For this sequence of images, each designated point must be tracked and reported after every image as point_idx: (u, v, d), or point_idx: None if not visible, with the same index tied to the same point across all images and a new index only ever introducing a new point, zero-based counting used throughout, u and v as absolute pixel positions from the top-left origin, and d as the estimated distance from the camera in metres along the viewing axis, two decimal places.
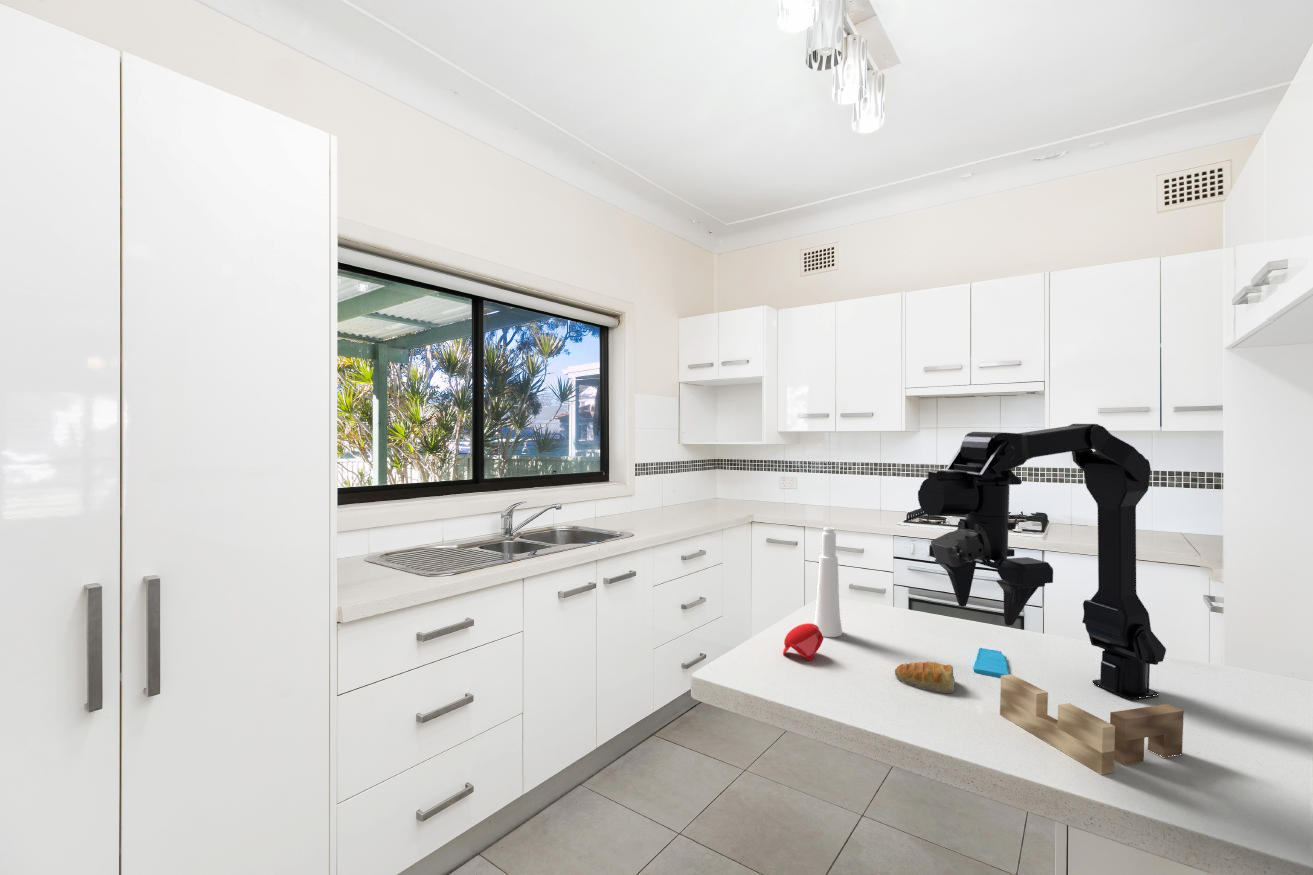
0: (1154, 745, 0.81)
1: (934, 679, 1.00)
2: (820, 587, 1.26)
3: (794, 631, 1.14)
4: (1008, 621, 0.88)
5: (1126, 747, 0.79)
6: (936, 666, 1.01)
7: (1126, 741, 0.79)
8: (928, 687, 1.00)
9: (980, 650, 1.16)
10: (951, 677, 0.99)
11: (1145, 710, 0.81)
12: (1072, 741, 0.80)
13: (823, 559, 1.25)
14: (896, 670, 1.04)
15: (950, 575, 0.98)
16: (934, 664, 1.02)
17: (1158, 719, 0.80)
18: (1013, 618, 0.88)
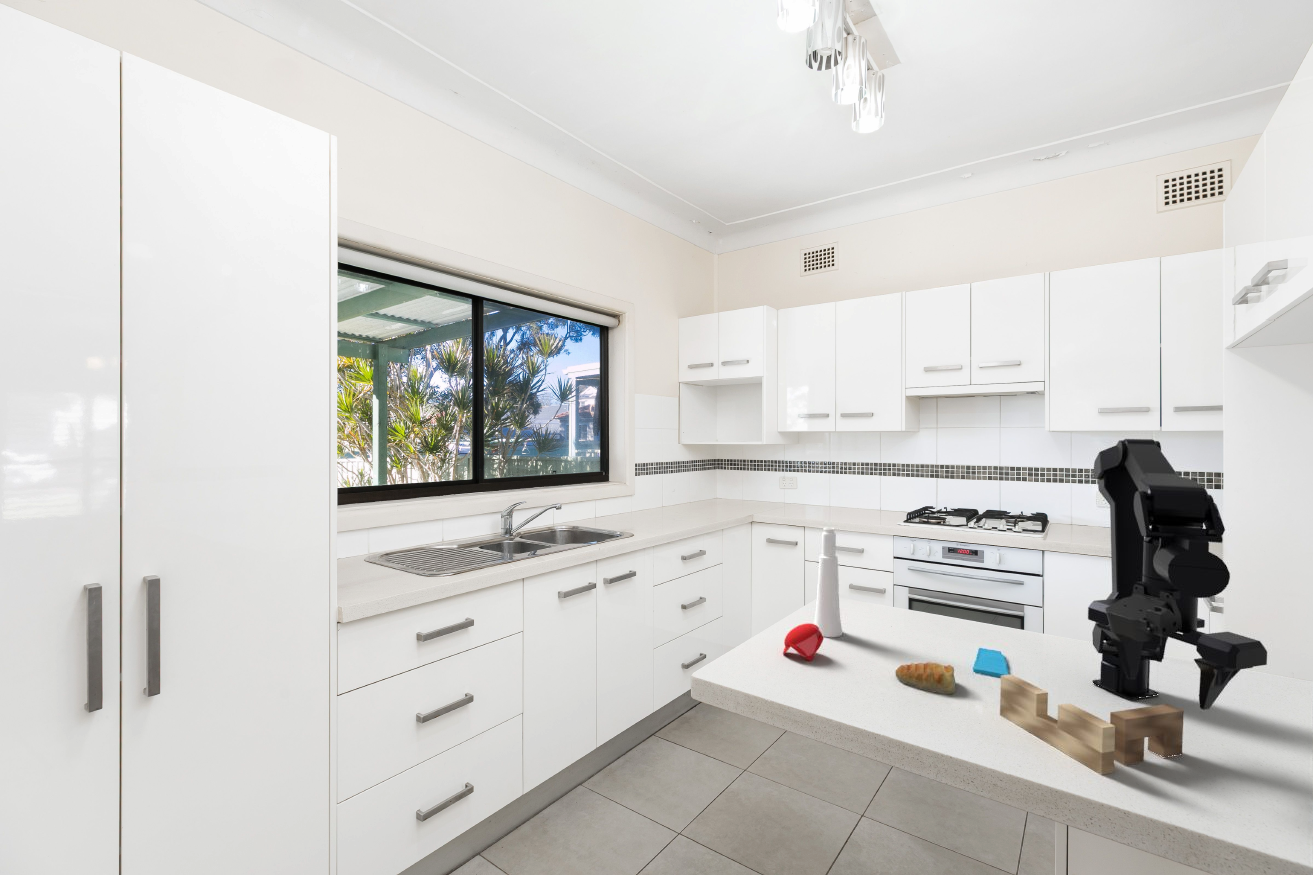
0: (1154, 745, 0.81)
1: (935, 680, 0.99)
2: (820, 587, 1.26)
3: (794, 631, 1.14)
4: (1205, 705, 0.76)
5: (1126, 747, 0.79)
6: (937, 667, 1.01)
7: (1126, 741, 0.79)
8: (929, 688, 1.00)
9: (980, 650, 1.16)
10: (952, 678, 0.99)
11: (1145, 710, 0.81)
12: (1072, 741, 0.80)
13: (823, 559, 1.25)
14: (897, 671, 1.04)
15: (1116, 643, 0.87)
16: (935, 665, 1.02)
17: (1158, 719, 0.80)
18: (1210, 702, 0.77)
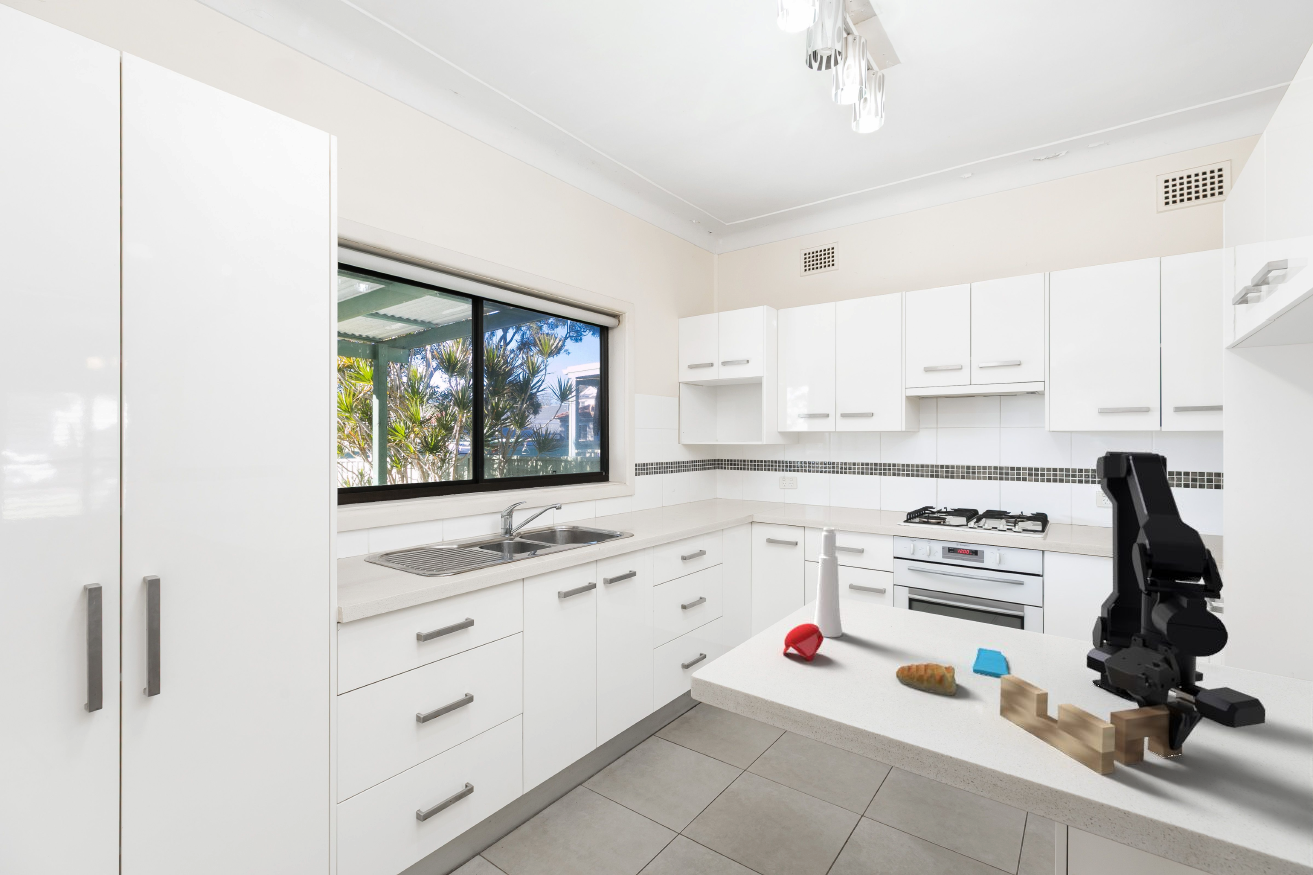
0: (1154, 745, 0.81)
1: (936, 681, 0.99)
2: (820, 587, 1.26)
3: (794, 631, 1.14)
4: (1174, 746, 0.80)
5: (1126, 747, 0.79)
6: (938, 668, 1.01)
7: (1126, 741, 0.79)
8: (930, 689, 0.99)
9: (979, 650, 1.15)
10: (953, 679, 0.99)
11: (1145, 710, 0.81)
12: (1072, 741, 0.80)
13: (823, 559, 1.25)
14: (897, 672, 1.03)
15: (1140, 703, 0.83)
16: (935, 666, 1.02)
17: (1158, 719, 0.80)
18: (1179, 743, 0.80)
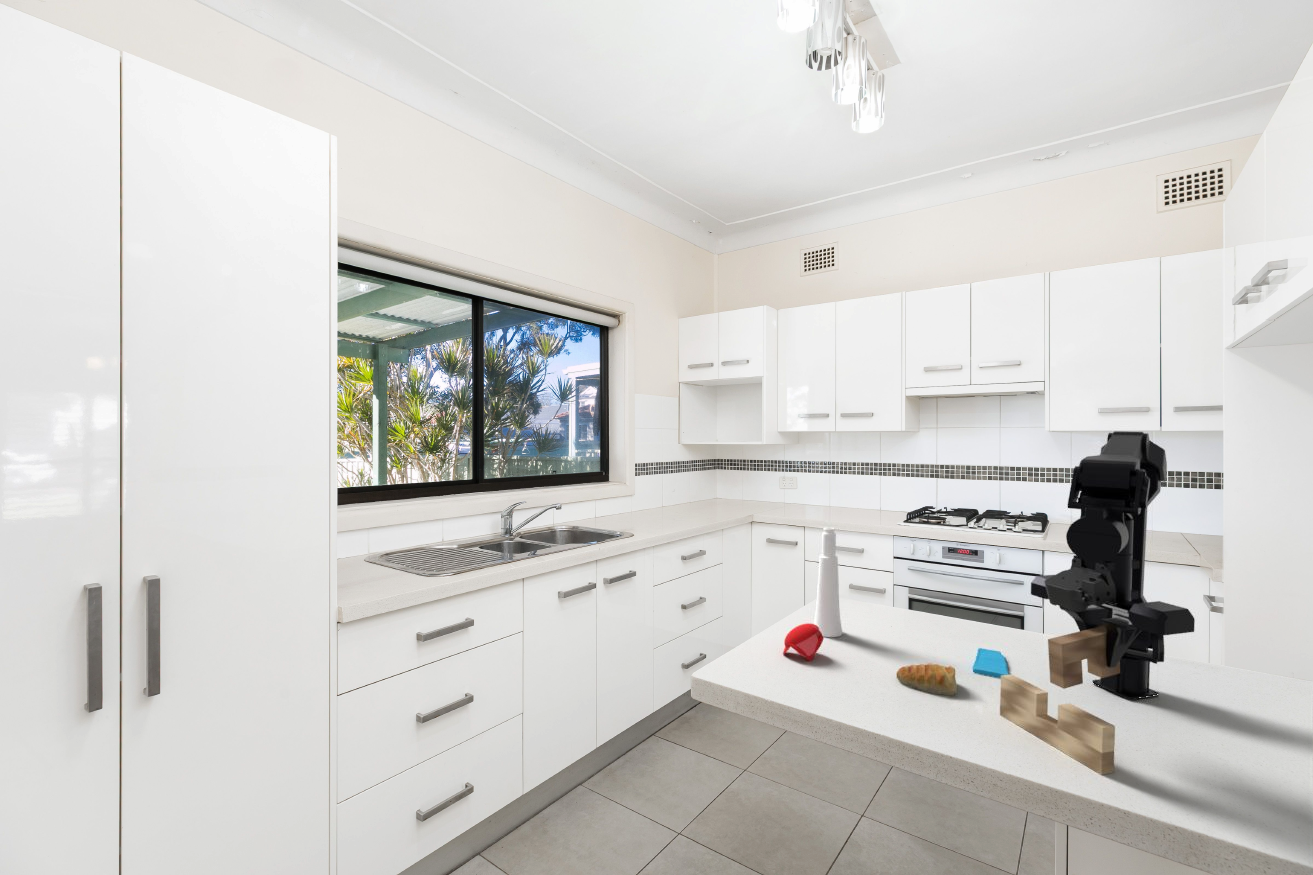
0: (1093, 667, 0.83)
1: (937, 682, 0.99)
2: (820, 587, 1.26)
3: (794, 631, 1.14)
4: (1111, 663, 0.82)
5: (1064, 671, 0.80)
6: (938, 668, 1.01)
7: (1064, 665, 0.80)
8: (930, 689, 0.99)
9: (979, 650, 1.15)
10: (954, 679, 0.99)
11: (1081, 634, 0.82)
12: (1072, 741, 0.80)
13: (823, 559, 1.25)
14: (898, 673, 1.03)
15: (1079, 624, 0.85)
16: (936, 666, 1.01)
17: (1093, 641, 0.81)
18: (1116, 660, 0.82)
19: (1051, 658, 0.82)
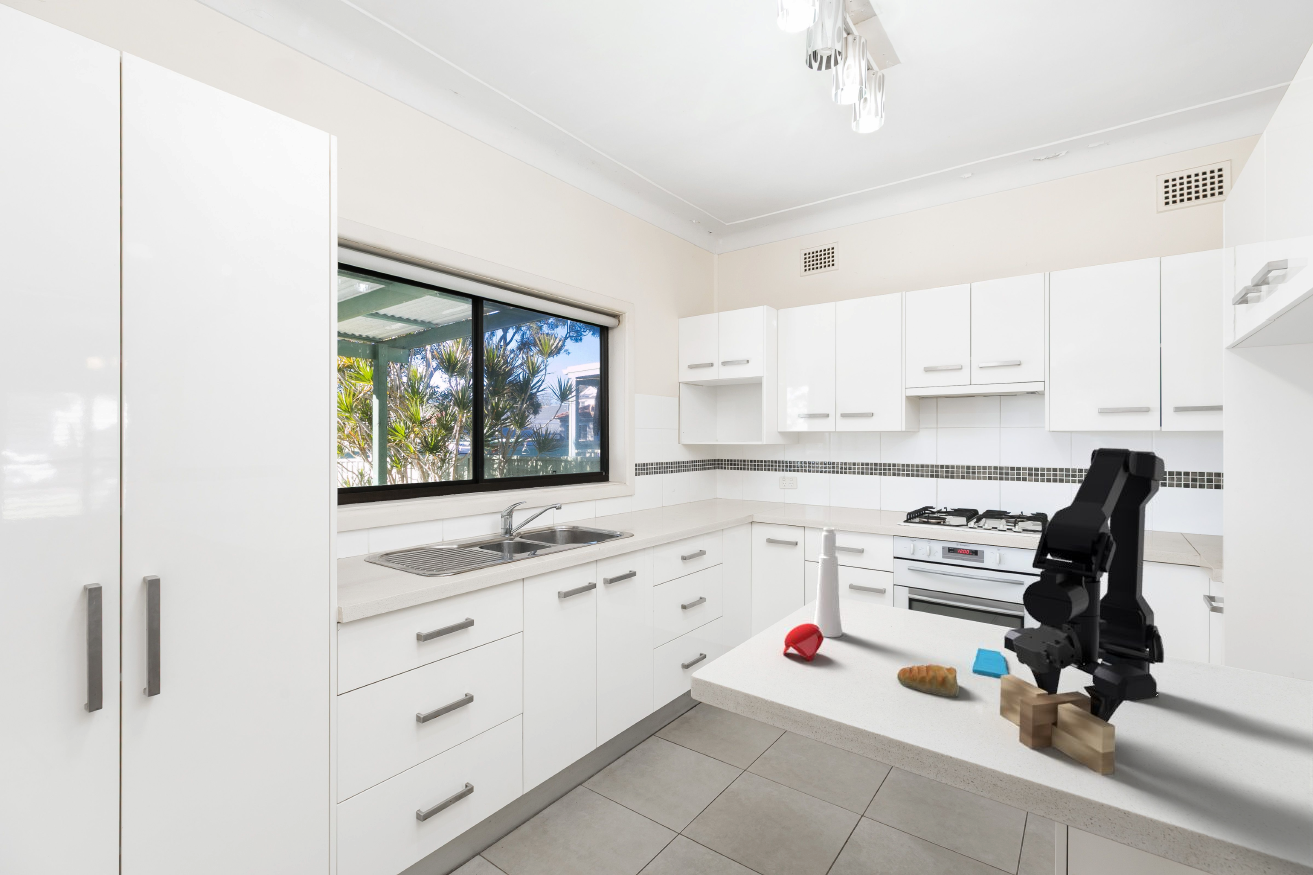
0: None
1: (938, 683, 0.98)
2: (820, 587, 1.26)
3: (794, 631, 1.14)
4: None
5: (1033, 732, 0.82)
6: (939, 669, 1.00)
7: (1033, 726, 0.82)
8: (932, 690, 0.99)
9: (979, 650, 1.15)
10: (955, 680, 0.98)
11: (1054, 697, 0.84)
12: (1072, 741, 0.80)
13: (823, 559, 1.25)
14: (899, 674, 1.02)
15: (1035, 674, 0.89)
16: (937, 667, 1.01)
17: None
18: None
19: (1022, 718, 0.84)
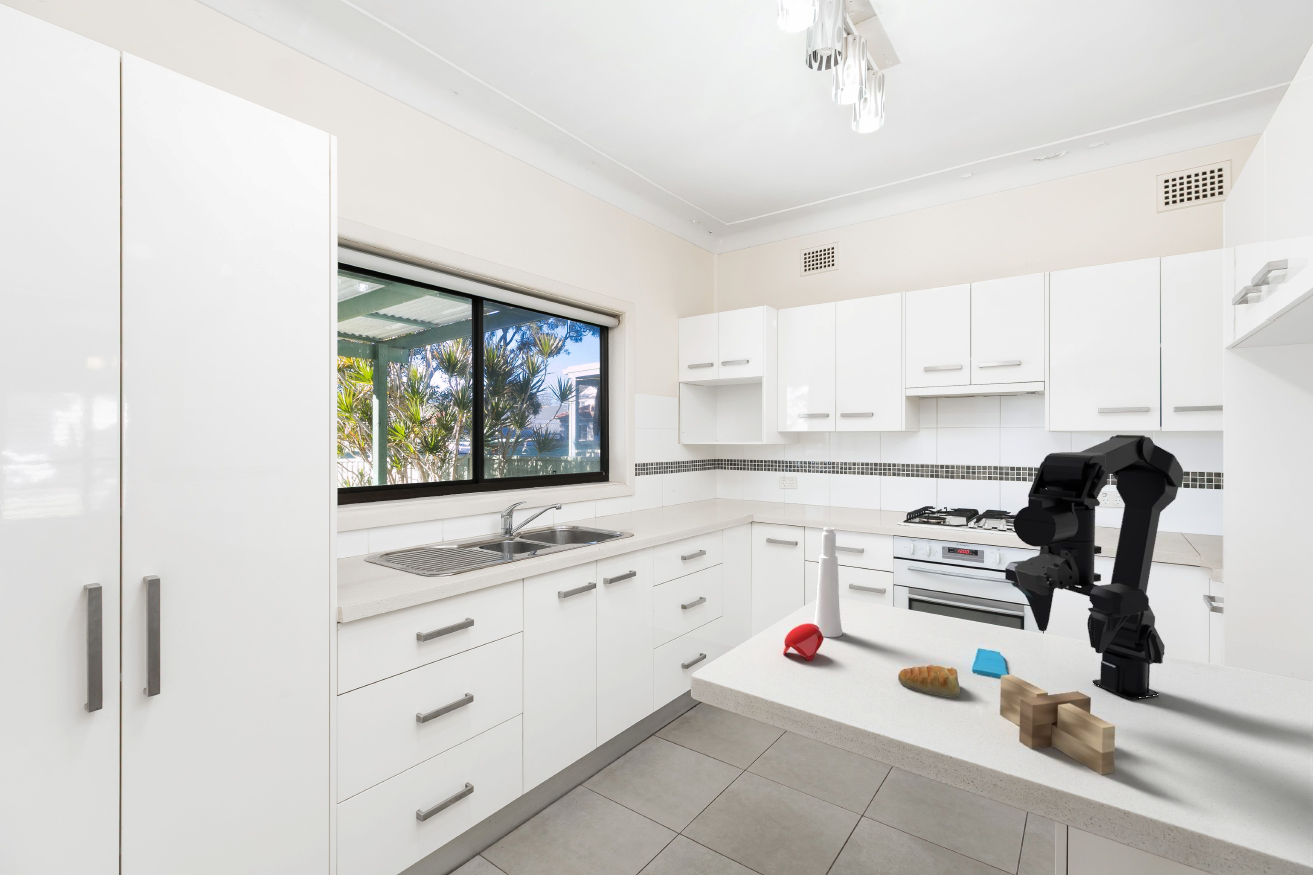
0: None
1: (940, 684, 0.98)
2: (820, 587, 1.26)
3: (794, 631, 1.14)
4: (1099, 649, 0.86)
5: (1033, 732, 0.82)
6: (941, 670, 1.00)
7: (1033, 726, 0.82)
8: (933, 691, 0.98)
9: (979, 650, 1.15)
10: (957, 681, 0.98)
11: (1054, 697, 0.84)
12: (1072, 741, 0.80)
13: (823, 559, 1.25)
14: (900, 675, 1.02)
15: (1029, 599, 0.96)
16: (938, 668, 1.01)
17: None
18: (1104, 646, 0.86)
19: (1022, 718, 0.84)
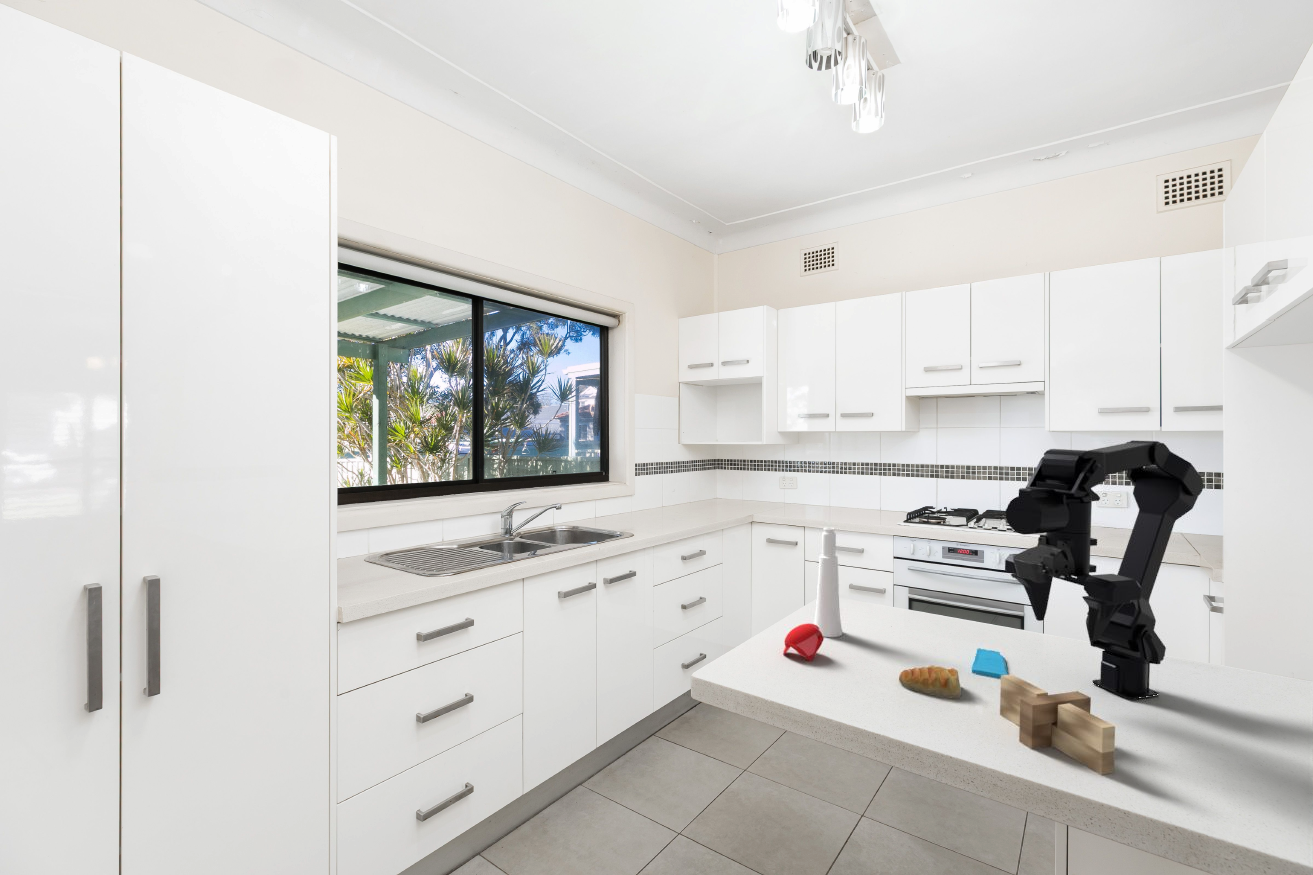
0: None
1: (941, 685, 0.98)
2: (820, 587, 1.26)
3: (794, 631, 1.14)
4: (1093, 636, 0.89)
5: (1033, 732, 0.82)
6: (942, 671, 1.00)
7: (1033, 726, 0.82)
8: (935, 692, 0.98)
9: (978, 651, 1.15)
10: (958, 682, 0.98)
11: (1053, 697, 0.84)
12: (1072, 741, 0.80)
13: (823, 559, 1.25)
14: (901, 676, 1.01)
15: (1027, 589, 1.00)
16: (939, 669, 1.00)
17: None
18: (1097, 634, 0.90)
19: (1022, 718, 0.84)
